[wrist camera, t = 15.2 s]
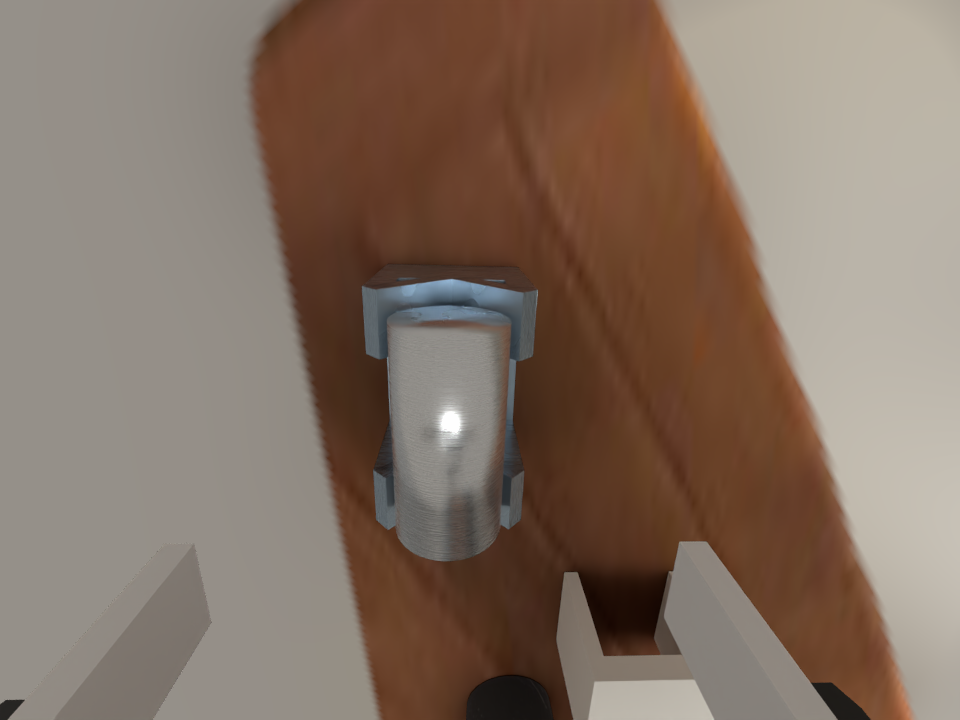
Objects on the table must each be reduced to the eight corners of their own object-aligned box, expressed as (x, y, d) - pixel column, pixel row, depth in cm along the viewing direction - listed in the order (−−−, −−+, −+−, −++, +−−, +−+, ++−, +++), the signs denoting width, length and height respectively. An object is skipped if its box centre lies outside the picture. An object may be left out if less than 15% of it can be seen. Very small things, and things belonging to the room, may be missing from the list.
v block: (507, 450, 29) (522, 529, 22) (395, 449, 29) (373, 529, 22) (518, 267, 25) (540, 293, 18) (387, 263, 25) (358, 289, 18)
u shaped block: (665, 638, 36) (719, 754, 28) (556, 639, 35) (581, 758, 28) (681, 571, 34) (745, 678, 26) (564, 572, 33) (594, 681, 26)
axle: (511, 501, 23) (482, 574, 18) (422, 481, 24) (375, 544, 20) (523, 312, 19) (492, 344, 15) (419, 301, 21) (361, 328, 16)
